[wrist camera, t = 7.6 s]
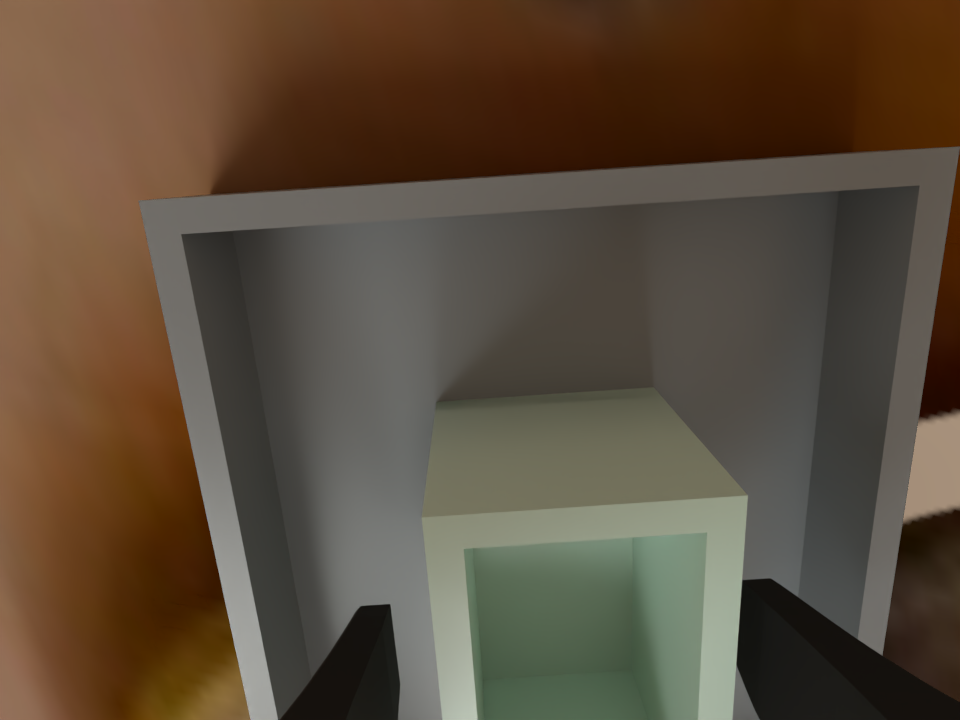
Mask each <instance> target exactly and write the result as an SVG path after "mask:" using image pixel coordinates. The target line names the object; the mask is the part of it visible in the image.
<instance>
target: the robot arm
mask: <svg viewBox="0 0 960 720" xmlns="http://www.w3.org/2000/svg"><path fill="white" fill-rule="evenodd" d="M736 665H737V668H738V670H739V673H740V675H741V678H742V680H743V683H744V686H745V688H746V690H747V693H748V695H749V698H750V700H751V702H752V705H753V707H754V709H755V712H756V714H757V715H758V717H759V719H760V720H960V702H958V701H956V700H955V699H953V698H951V697H949V696H947V695H945V694H944V693H942V692H940V691H939V690H937V689H935V688H933V687H932V686H930V685H928V684H927V683H925V682H923V681H922V680H920V679H918V678H917V677H915V676H914V675H912V674H910V673H909V672H907V671H906V670H904V669H902V668H901V667H899V666H898V665H896V664H894V663H893V662H891V661H890V660H888V659H887V658H885V657H884V656H882V655H881V654H879V653H877V652H876V651H874V650H873V649H871V648H870V647H868V646H867V645H865V644H864V643H862V642H861V641H860V640H858V639H857V638H855V637H854V636H852V635H851V634H849V633H848V632H846V631H845V630H844V629H842V628H841V627H839V626H838V625H836V624H835V623H834V622H832V621H831V620H829V619H828V618H827V617H825V616H824V615H822V614H821V613H820V612H818V611H817V610H815V609H814V608H813V607H811V606H810V605H808V604H807V603H806V602H804V601H803V600H801V599H800V598H799V597H797V596H796V595H794V594H793V593H792V592H790V591H789V590H787V589H786V588H784V587H783V586H782V585H780V584H779V583H777V582H776V581H774V580H773V579H771V578H765V579H750V580H742V589H741V603H740V618H739V632H738V646H737V661H736ZM399 697H400V678H399V670H398V662H397V654H396V646H395V638H394V630H393V622H392V614H391V606H390V604H382V605H367V606H360V607H359V608H358V609H357V610H356V612H355V613H354V615H353V617H352V618H351V620H350V622H349V623H348V625H347V626H346V628H345V630H344V631H343V633H342V634H341V636H340V637H339V639H338V641H337V642H336V644H335V645H334V647H333V648H332V650H331V651H330V653H329V654H328V656H327V657H326V659H325V660H324V661H323V663H322V664H321V666H320V667H319V668H318V670H317V671H316V673H315V674H314V676H313V677H312V678H311V680H310V681H309V683H308V684H307V685H306V687H305V688H304V689H303V691H302V692H301V693H300V694H299V696H298V697H297V698H296V700H295V701H294V702H293V703H292V705H291V706H290V707H289V708H288V710H287V711H286V712H285V714H284V715H283V716H282V717H281V719H280V720H398V712H399Z"/></svg>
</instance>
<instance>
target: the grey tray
mask: <svg viewBox="0 0 960 720" xmlns="http://www.w3.org/2000/svg"><path fill="white" fill-rule="evenodd" d="M959 149H960V147H942V148H922V149H903V150H883V151H863V152H846V153H831V154H816V155H801V156H786V157H770V158H755V159H740V160H725V161H710V162H695V163H679V164H664V165H649V166H634V167H619V168H604V169H588V170H573V171H558V172H543V173H528V174H513V175H497V176H482V177H467V178H452V179H437V180H421V181H406V182H391V183H376V184H361V185H346V186H330V187H315V188H300V189H285V190H270V191H255V192H239V193H224V194H209V195H198V196H186V197H175V198H164V199H153V200H141V201H139V205H140V209H141V214H142V219H143V223H144V228H145V233H146V237H147V242H148V247H149V251H150V256H151V260H152V265H153V270H154V274H155V279H156V284H157V288H158V293H159V297H160V302H161V307H162V311H163V316H164V321H165V325H166V330H167V335H168V339H169V344H170V348H171V353H172V358H173V362H174V367H175V372H176V376H177V381H178V386H179V390H180V395H181V399H182V404H183V409H184V413H185V418H186V423H187V427H188V432H189V436H190V441H191V446H192V450H193V455H194V460H195V464H196V469H197V474H198V478H199V483H200V487H201V492H202V497H203V501H204V506H205V511H206V515H207V520H208V525H209V529H210V534H211V538H212V543H213V548H214V552H215V557H216V562H217V566H218V571H219V575H220V580H221V585H222V589H223V594H224V599H225V603H226V608H227V613H228V617H229V622H230V626H231V631H232V636H233V640H234V645H235V650H236V654H237V659H238V664H239V668H240V673H241V677H242V682H243V687H244V691H245V696H246V701H247V705H248V710H249V714H250V719H251V720H280V719H281V717H282V716H283V715H284V714H285V712H286V711H287V710H288V708H289V707H290V706H291V705H292V703H293V702H294V701H295V700H296V698H297V697H298V696H299V694H300V693H301V692H302V691H303V689H304V688H305V687H306V685H307V684H308V683H309V681H310V680H311V678H312V677H313V676H314V674H315V673H316V671H317V670H318V668H319V667H320V666H321V664H322V663H323V661H324V660H325V659H326V657H327V656H328V654H329V653H330V651H331V650H332V648H333V647H334V645H335V644H336V642H337V641H338V639H339V637H340V636H341V634H342V633H343V631H344V630H345V628H346V626H347V625H348V623H349V622H350V620H351V618H352V617H353V615H354V613H355V612H356V610H357V609H358V608H359V607H360V606H367V605H382V604H390V606H391V614H392V622H393V630H394V638H395V646H396V654H397V662H398V670H399V678H400V697H399V712H398V720H442V711H441V702H440V692H439V682H438V672H437V663H436V653H435V643H434V633H433V624H432V614H431V604H430V594H429V585H428V575H427V565H426V555H425V546H424V536H423V526H422V511H423V503H424V495H425V487H426V479H427V471H428V464H429V456H430V448H431V440H432V432H433V424H434V416H435V409H436V402H440V401H455V400H470V399H485V398H500V397H515V396H529V395H544V394H559V393H574V392H589V391H604V390H619V389H634V388H649V387H654V388H655V389H656V391H657V392H658V393H659V394H660V395H661V396H662V397H663V399H664V400H665V401H666V402H667V403H668V404H669V406H670V407H671V408H672V409H673V410H674V411H675V412H676V414H677V415H678V416H679V417H680V418H681V419H682V420H683V422H684V423H685V424H686V425H687V426H688V427H689V428H690V430H691V431H692V432H693V433H694V434H695V435H696V436H697V438H698V439H699V440H700V441H701V442H702V443H703V444H704V446H705V447H706V448H707V449H708V450H709V451H710V453H711V454H712V455H713V456H714V457H715V458H716V459H717V461H718V462H719V463H720V464H721V465H722V466H723V467H724V469H725V470H726V471H727V472H728V473H729V474H730V475H731V477H732V478H733V479H734V480H735V481H736V482H737V483H738V485H739V486H740V487H741V488H742V489H743V490H744V491H745V493H746V494H747V495H748V502H747V517H746V531H745V545H744V560H743V574H742V580H750V579H765V578H771V579H773V580H774V581H776V582H777V583H779V584H780V585H782V586H783V587H784V588H786V589H787V590H789V591H790V592H792V593H793V594H794V595H796V596H797V597H799V598H800V599H801V600H803V601H804V602H806V603H807V604H808V605H810V606H811V607H813V608H814V609H815V610H817V611H818V612H820V613H821V614H822V615H824V616H825V617H827V618H828V619H829V620H831V621H832V622H834V623H835V624H836V625H838V626H839V627H841V628H842V629H844V630H845V631H846V632H848V633H849V634H851V635H852V636H854V637H855V638H857V639H858V640H860V641H861V642H862V643H864V644H865V645H867V646H868V647H870V648H871V649H873V650H874V651H876V652H877V653H879V654H881V655H882V654H883V648H884V641H885V634H886V628H887V621H888V615H889V608H890V602H891V595H892V589H893V582H894V575H895V569H896V562H897V556H898V549H899V543H900V536H901V530H902V523H903V516H904V510H905V503H906V496H907V490H908V484H909V477H910V470H911V464H912V457H913V451H914V444H915V437H916V431H917V425H918V418H919V412H920V405H921V399H922V392H923V385H924V379H925V372H926V366H927V359H928V353H929V346H930V340H931V333H932V326H933V320H934V313H935V307H936V300H937V294H938V287H939V281H940V274H941V267H942V261H943V254H944V248H945V241H946V235H947V228H948V222H949V215H950V208H951V202H952V195H953V189H954V182H955V176H956V169H957V163H958V156H959ZM732 720H760V719H759V717H758V715H757V714H756V712H755V709H754V707H753V705H752V702H751V700H750V698H749V695H748V693H747V690H746V688H745V686H744V683H743V680H742V678H741V675H740V673H739V670H738V668H737V665H736V675H735V690H734V704H733V719H732Z"/></svg>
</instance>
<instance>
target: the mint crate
mask: <svg viewBox="0 0 960 720" xmlns="http://www.w3.org/2000/svg"><path fill="white" fill-rule="evenodd" d="M747 502H748V495H747V494H746V493H745V491H744V490H743V489H742V488H741V487H740V486H739V485H738V483H737V482H736V481H735V480H734V479H733V478H732V477H731V475H730V474H729V473H728V472H727V471H726V470H725V469H724V467H723V466H722V465H721V464H720V463H719V462H718V461H717V459H716V458H715V457H714V456H713V455H712V454H711V453H710V451H709V450H708V449H707V448H706V447H705V446H704V444H703V443H702V442H701V441H700V440H699V439H698V438H697V436H696V435H695V434H694V433H693V432H692V431H691V430H690V428H689V427H688V426H687V425H686V424H685V423H684V422H683V420H682V419H681V418H680V417H679V416H678V415H677V414H676V412H675V411H674V410H673V409H672V408H671V407H670V406H669V404H668V403H667V402H666V401H665V400H664V399H663V397H662V396H661V395H660V394H659V393H658V392H657V391H656V389H655V388H654V387H649V388H634V389H619V390H604V391H589V392H574V393H559V394H544V395H529V396H515V397H500V398H485V399H470V400H455V401H440V402H436V409H435V416H434V424H433V432H432V440H431V448H430V456H429V464H428V471H427V479H426V487H425V495H424V503H423V511H422V526H423V536H424V546H425V555H426V565H427V575H428V585H429V594H430V604H431V614H432V624H433V633H434V643H435V653H436V663H437V672H438V682H439V692H440V702H441V711H442V720H732V719H733V704H734V690H735V675H736V661H737V646H738V632H739V618H740V603H741V589H742V574H743V560H744V545H745V531H746V517H747Z"/></svg>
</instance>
